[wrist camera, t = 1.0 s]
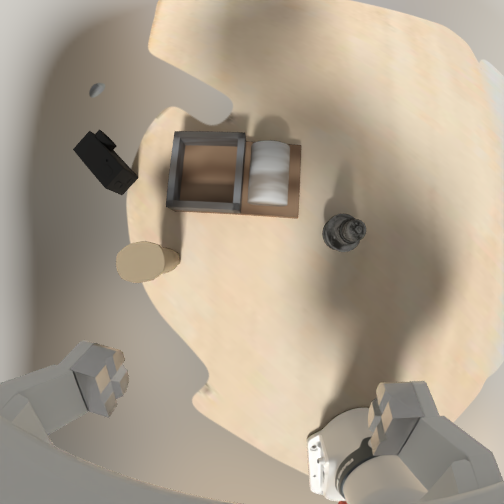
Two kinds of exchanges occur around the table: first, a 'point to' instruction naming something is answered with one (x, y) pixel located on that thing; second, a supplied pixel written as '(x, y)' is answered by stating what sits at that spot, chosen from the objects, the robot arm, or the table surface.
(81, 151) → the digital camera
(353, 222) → the dark grey chess piece
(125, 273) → the handle
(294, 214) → the base
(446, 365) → the table surface
